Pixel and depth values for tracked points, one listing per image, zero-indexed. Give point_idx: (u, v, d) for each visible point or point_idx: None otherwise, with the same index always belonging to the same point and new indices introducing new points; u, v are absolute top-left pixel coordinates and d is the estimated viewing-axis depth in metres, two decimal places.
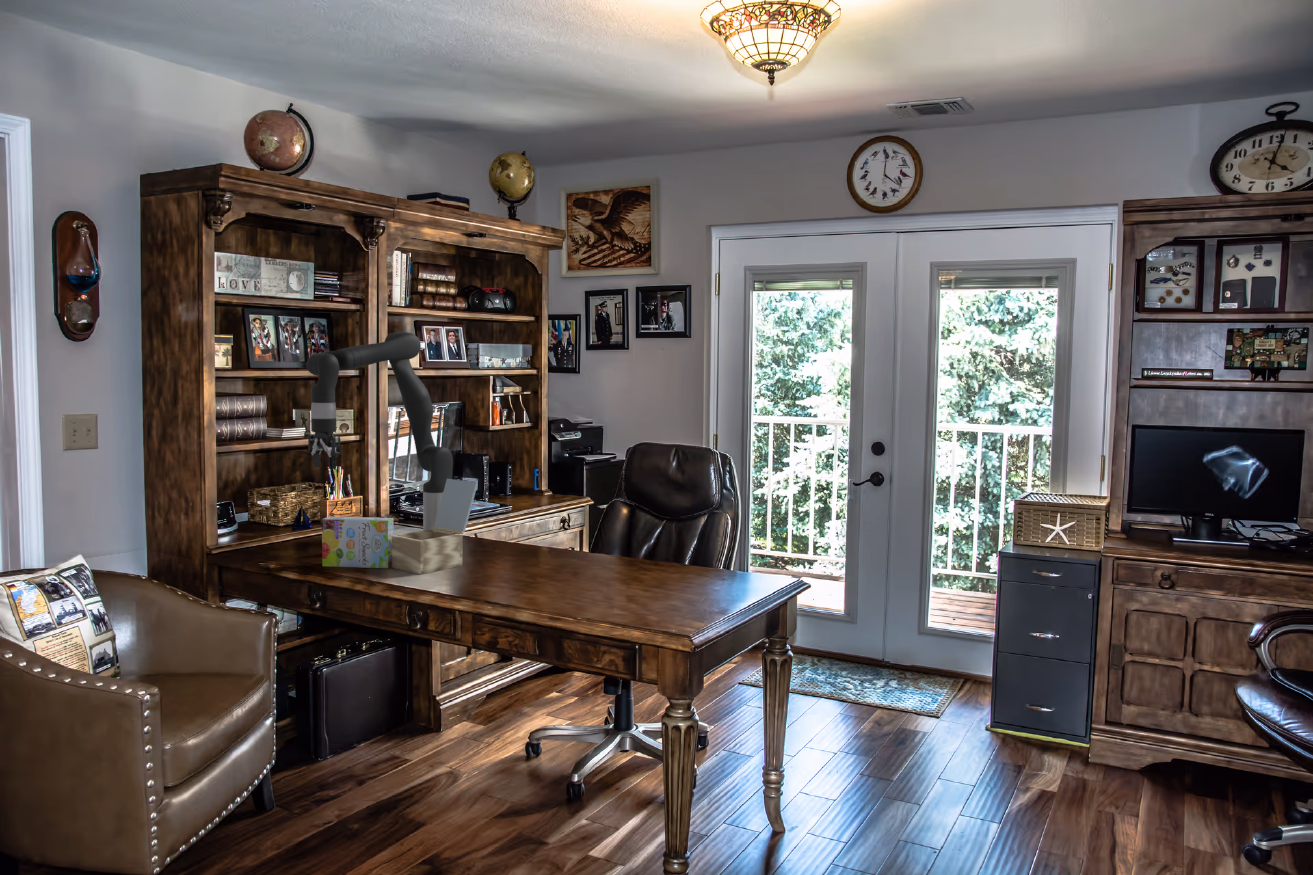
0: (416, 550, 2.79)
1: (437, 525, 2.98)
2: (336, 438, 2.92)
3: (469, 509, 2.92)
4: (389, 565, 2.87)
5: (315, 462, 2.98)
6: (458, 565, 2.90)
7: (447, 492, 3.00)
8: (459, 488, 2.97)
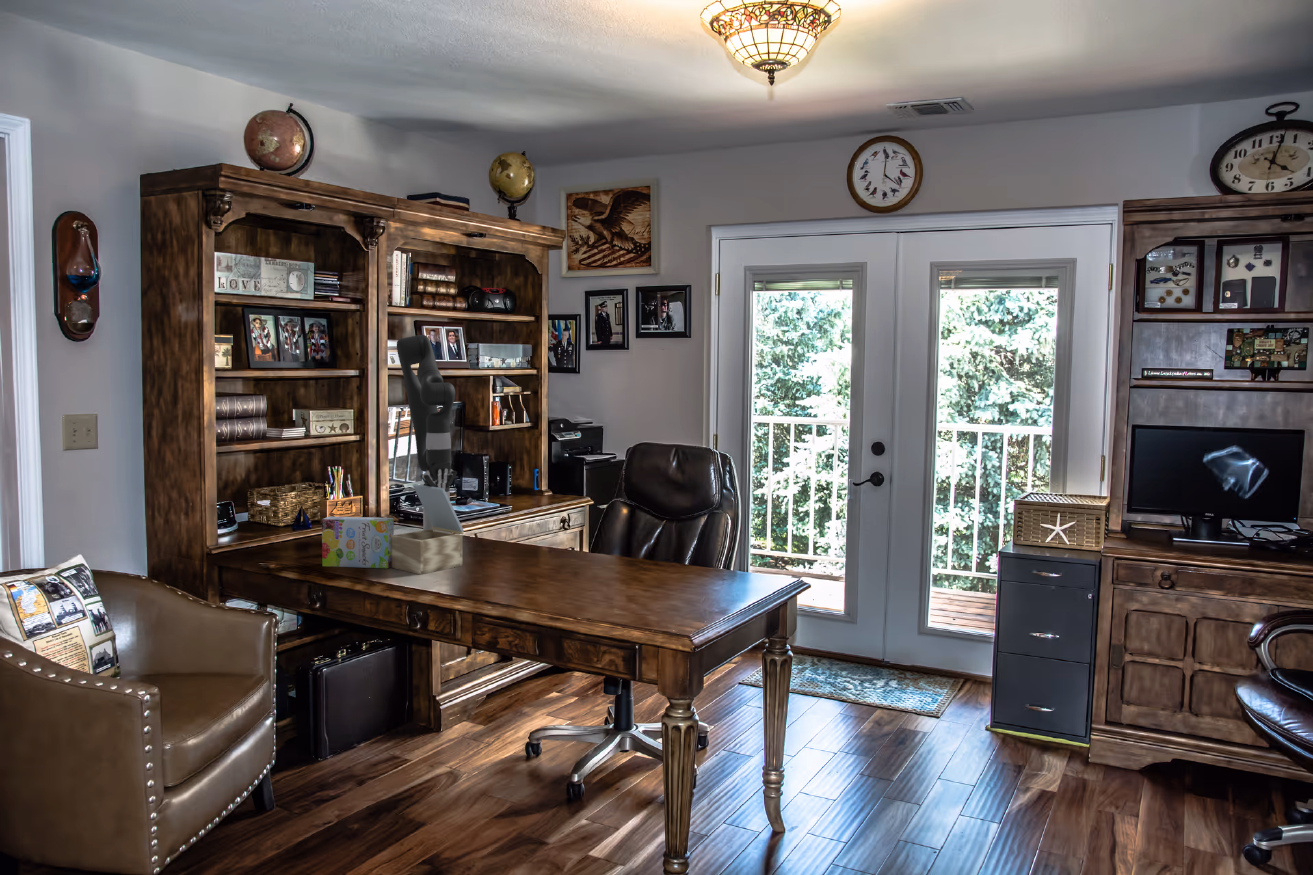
0: (416, 550, 2.79)
1: (435, 525, 2.98)
2: None
3: (453, 512, 2.87)
4: (389, 565, 2.87)
5: None
6: (458, 565, 2.90)
7: (422, 497, 2.92)
8: (431, 494, 2.88)
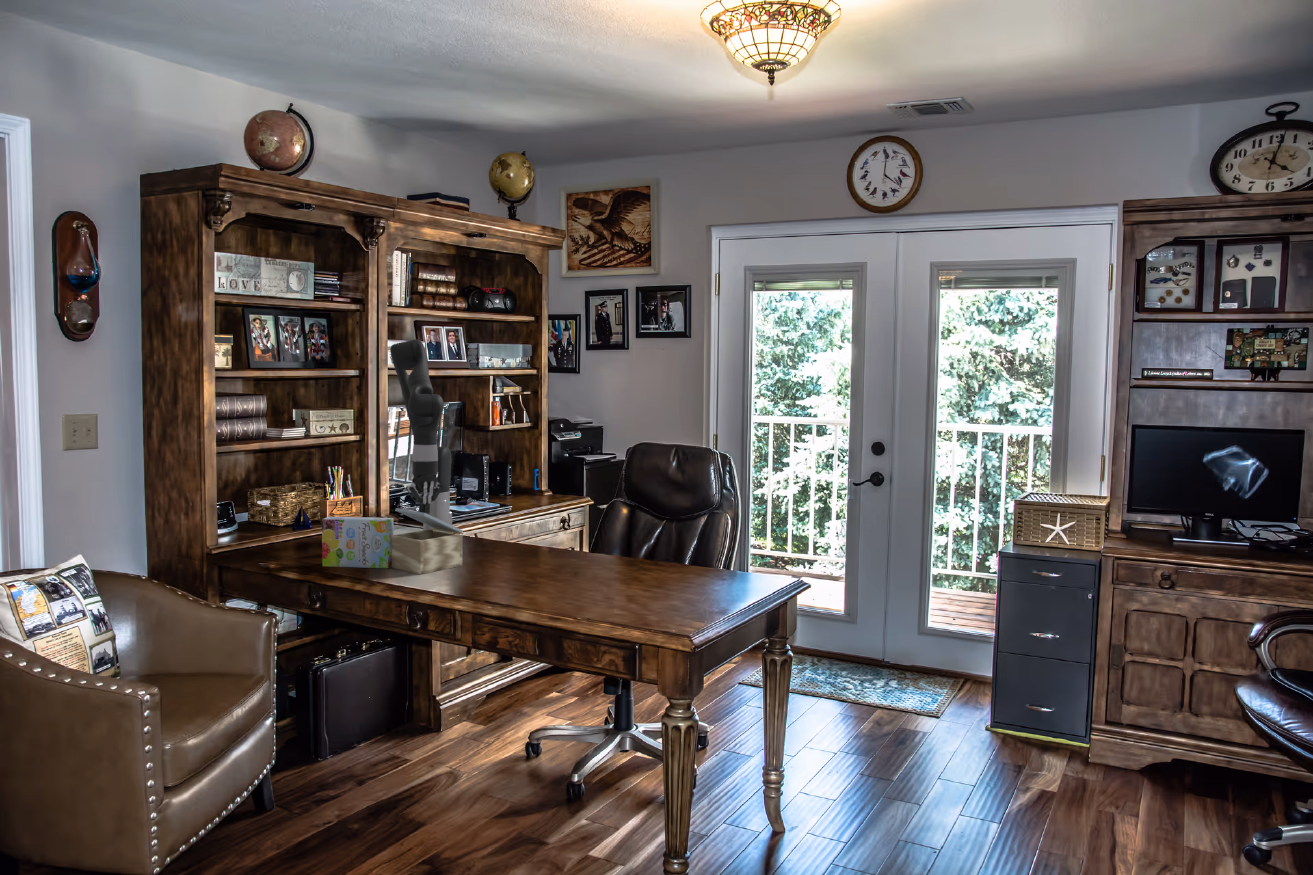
0: (416, 550, 2.79)
1: (434, 527, 2.97)
2: None
3: (445, 524, 2.85)
4: (389, 565, 2.87)
5: None
6: (458, 565, 2.90)
7: (409, 515, 2.89)
8: (416, 515, 2.84)
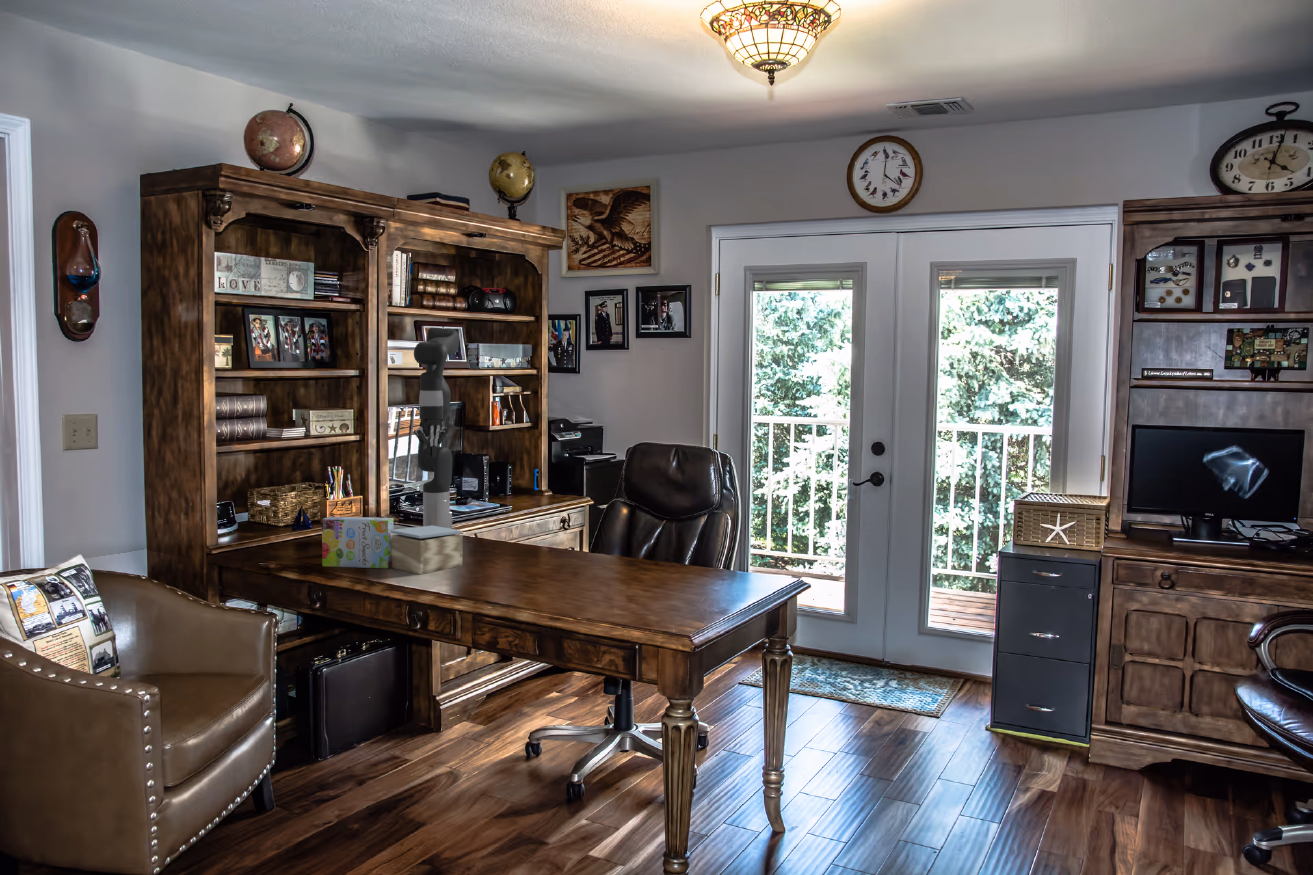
0: (416, 550, 2.79)
1: None
2: None
3: (442, 534, 2.84)
4: (389, 565, 2.87)
5: None
6: (458, 565, 2.90)
7: None
8: None
